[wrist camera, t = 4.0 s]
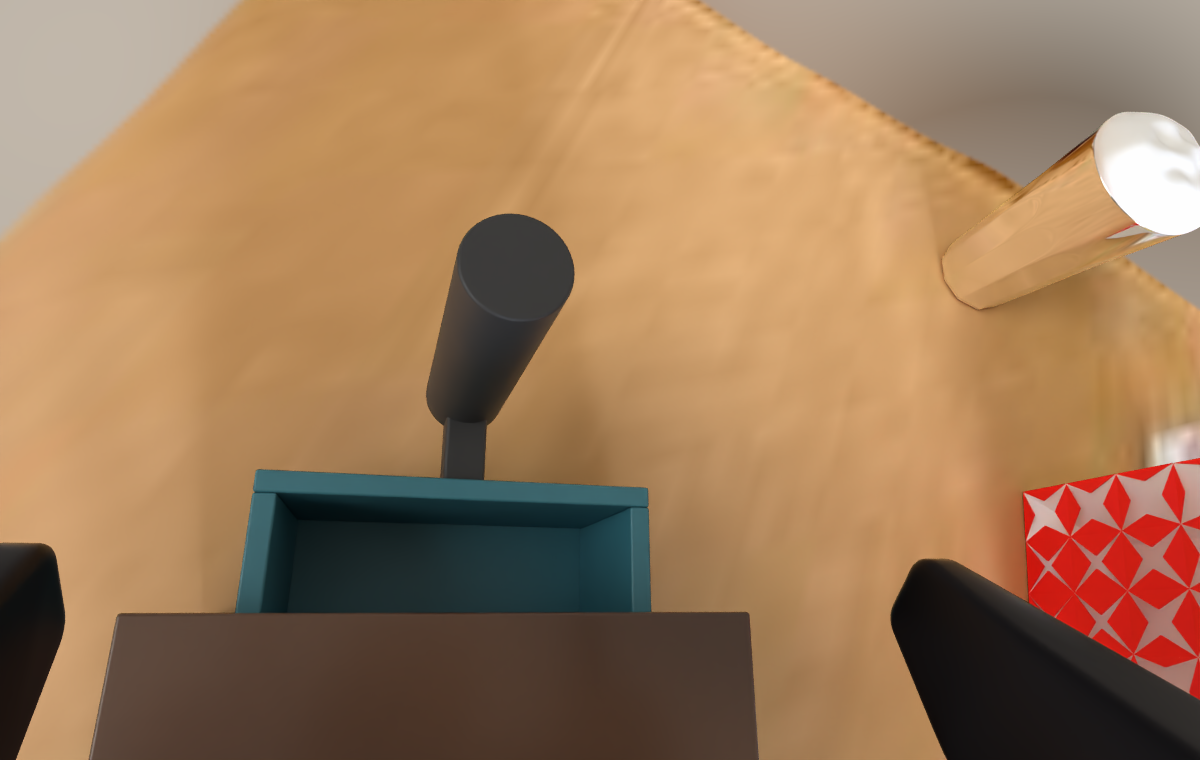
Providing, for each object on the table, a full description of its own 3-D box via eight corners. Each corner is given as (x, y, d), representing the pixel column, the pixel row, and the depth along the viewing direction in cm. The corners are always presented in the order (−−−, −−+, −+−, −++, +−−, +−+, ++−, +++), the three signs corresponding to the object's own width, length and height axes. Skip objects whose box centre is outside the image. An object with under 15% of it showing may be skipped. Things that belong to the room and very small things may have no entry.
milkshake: (1043, 313, 32) (1310, 192, 23) (951, 331, 30) (1203, 207, 21) (1003, 222, 33) (1244, 71, 24) (912, 234, 31) (1136, 75, 22)
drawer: (590, 922, 20) (840, 1277, 9) (223, 967, 17) (-21, 1525, 7) (590, 409, 24) (758, 248, 14) (299, 387, 22) (228, 168, 11)
